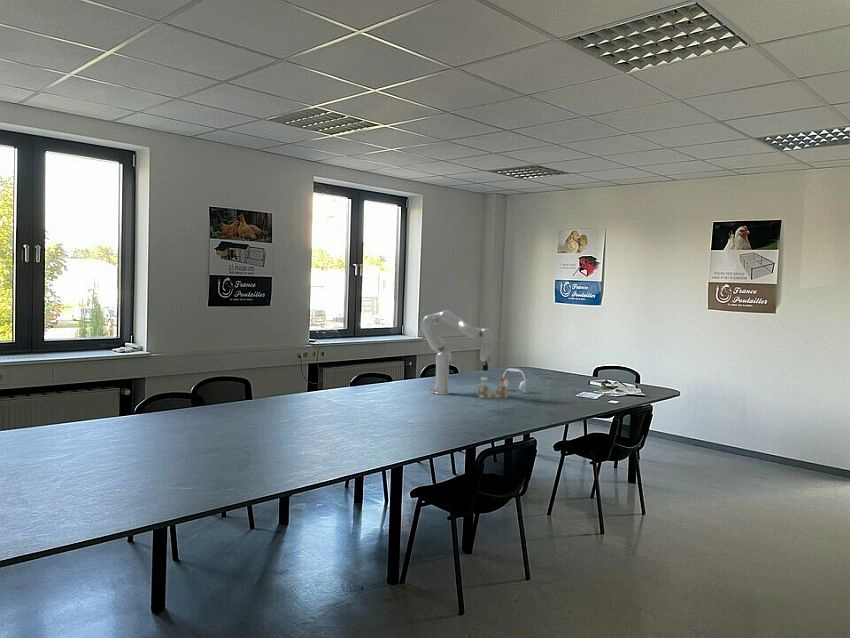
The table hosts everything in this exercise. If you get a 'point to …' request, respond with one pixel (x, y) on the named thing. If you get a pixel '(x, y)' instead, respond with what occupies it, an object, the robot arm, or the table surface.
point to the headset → (522, 384)
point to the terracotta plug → (501, 381)
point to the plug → (484, 381)
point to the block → (484, 393)
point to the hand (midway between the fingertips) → (485, 370)
